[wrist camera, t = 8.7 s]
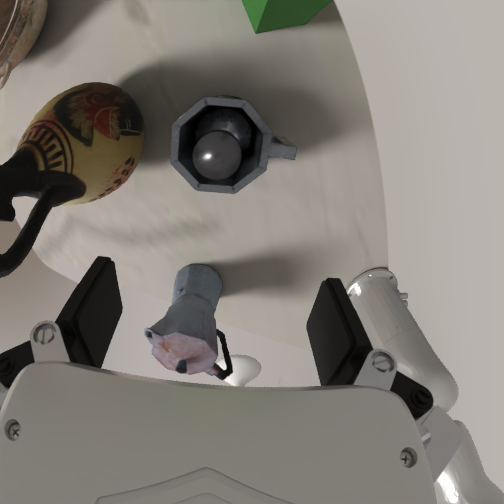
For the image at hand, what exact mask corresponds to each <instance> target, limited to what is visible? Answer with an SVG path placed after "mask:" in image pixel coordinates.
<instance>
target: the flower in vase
mask: <svg viewBox="0 0 504 504" xmlns="http://www.w3.org/2000/svg"><path fill="white" fill-rule="evenodd" d="M230 358H231V362H232V365H233V373H232V374H230V376H229V377H228V376H227V377H226V379H225V380H224V381H226V382H228V383H230V384H231V385H232V386H241V387H244V386H245V385H246V384H247V383H249V382H250V381H252V380H253V379H255V378H256V377H257V376H258V375H259V373H260V371H261V365H260V363H259V362H258V361H257V360H256V359H254V358H252V357H249V356H245V355H232V356H230ZM217 364H218V365H219V366H220V367H221V368H222V369H223V370H226V369H227V368H226V363H225V360H224V358H223V359H221V360H220V361H219V362H218V363H217Z"/></svg>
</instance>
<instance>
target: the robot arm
mask: <svg viewBox="0 0 504 504" xmlns="http://www.w3.org/2000/svg"><path fill="white" fill-rule="evenodd" d="M407 298H408V294H407V293H400V292H399V290H398V289H397V279H396V277H395V276H394V274H393V273H392V272H391V271H389V270H387V269H381V268H378V269H373V270H369V271H367V272H365V273H363V274H361V275H360V276H358V277H357V278H356V279H355V280H354V281H353V282H352V283H351V284H350V285H349V287H348V288H347V290H345V288H344V286H343V284H342V282H341V280H340V279H339V278H327V279H326V281H323V282H322V284H321V286H320V289H319V292H318V295H317V297H316V300H315V303H314V305H313V308H312V311H311V313H310V316H309V318H308V321H307V332H308V336H309V340H310V344H311V348H312V351H313V355H314V359H315V363H316V367H317V371H318V375H319V379H320V383H321V386H310V387H241V386H222V385H207V384H197V383H186V382H178V381H170V380H163V379H156V378H149V377H143V376H137V375H131V374H126V373H121V372H116V371H111V370H106V369H101V367H102V364H103V361H104V358H105V355H106V353H107V350H108V347H109V345H110V342H111V339H112V337H113V334H114V331H115V329H116V326H117V324H118V321H119V319H120V316H121V314H122V308H123V306H122V301H121V296H120V291H119V286H118V281H117V275H116V269H115V263H114V261H111V258H109V257H102V256H98V257H97V258H96V259H95V261H94V262H93V264H92V265H91V267H90V268H89V269H88V271H87V272H86V274H85V275H84V277H83V278H82V280H81V281H80V283H79V284H78V285H77V287H76V288H75V290H74V291H73V293H72V294H71V296H70V298H69V299H68V301H67V302H66V304H65V306H64V307H63V309H62V311H61V313H60V314H59V316H58V318H57V319H56V321H55V322H52V321H43V322H40V323H38V324H37V325H36V326H34V328H33V329H32V331H31V334H30V340H29V341H27V342H25V343H23V344H21V345H18V346H16V347H14V348H12V349H10V350H7V351H5V352H3V353H1V354H0V504H438V503H439V504H504V493H503V492H502V491H501V490H500V489H499V488H498V487H497V486H496V485H495V484H494V483H493V482H492V481H491V480H490V479H489V478H488V477H487V476H486V474H485V472H484V469H483V467H482V464H481V461H480V458H479V455H478V453H477V450H476V447H475V445H474V443H473V440H472V438H471V435H470V433H469V431H468V429H467V428H466V426H465V425H464V424H463V423H462V422H461V421H459V420H452V419H451V418H450V417H449V416H448V415H447V414H446V413H447V412H448V411H449V410H450V409H451V408H452V407H453V405H454V404H455V402H456V400H457V398H458V387H457V384H456V381H455V379H454V378H453V376H452V375H451V373H450V372H449V371H448V370H447V368H446V367H445V366H444V365H443V363H442V362H441V361H440V359H439V358H438V357H437V355H436V354H435V352H434V351H433V349H432V347H431V346H430V344H429V343H428V341H427V339H426V338H425V336H424V335H423V333H422V331H421V329H420V328H419V326H418V324H417V323H416V321H415V319H414V318H413V316H412V315H411V313H410V312H409V310H408V308H407V306H408V302H407V301H406V300H402V299H407ZM437 501H438V503H437Z"/></svg>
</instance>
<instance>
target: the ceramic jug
mask: <svg viewBox="0 0 504 504" xmlns="http://www.w3.org/2000/svg"><path fill="white" fill-rule="evenodd" d="M143 149H144V123H143V118H142V115H141V112H140V110H139V108H138V106H137V105H136V103H135V102H134V100H133V99H132V98H131V97H130V96H129V95H128V94H127V93H126V92H124V91H123V90H122V89H120V88H118V87H116V86H114V85H112V84H107V83H101V82H91V83H84V84H81V85H78V86H75V87H73V88H71V89H69V90H66V91H64V92H62V93H61V94H59V95H57V96H56V97H54V98H53V99H51V100H50V101H49V102H48V103H47V104H46V105H45V106H44V107H43V108H42V109H41V110H40V111H39V112H38V113H37V114H36V115H35V117H34V118H33V120H32V121H31V123H30V125H29V126H28V128H27V130H26V131H25V133H24V134H23V136H22V138H21V140H20V142H19V144H18V147H17V150H16V152H15V153H14V155H13V156H12V157H11V158H10V159H9V160H8V161H7V162H5V163H4V164H3V165H0V221H10V222H12V221H13V220H14V217H15V209H14V208H13V206H12V199H13V197H19V196H28V197H33V198H34V199H38V201H37V203H36V204H35V206H34V207H33V209H32V211H31V213H30V215H29V217H28V220H27V222H26V224H25V225H24V227H23V228H22V230H21V232H20V234H19V236H18V237H17V239H16V240H15V242H14V244H13V245H12V246H11V247H10V248H9V249H8V251H7V252H6V253H4V254H2V255H1V254H0V278H1V277H5V276H7V275H9V274H10V273H11V272H13V271H14V270H15V269H16V268H17V267H18V266H19V265H20V264H21V263H22V262H23V260H24V259H25V257H26V256H27V255H28V253H29V252H30V250H31V249H32V246H33V244H34V242H35V240H36V238H37V236H38V234H39V232H40V229H41V227H42V225H43V223H44V221H45V219H46V217H47V215H48V213H49V212H50V210H51V209H52V207H56V206H59V205H77V204H84V203H88V202H92V201H95V200H97V199H100V198H102V197H105V196H106V195H108V194H110V193H111V192H113V191H115V190H116V189H118V188H119V187H120V186H121V185H122V184H124V183H125V182H126V181H127V180H128V178H129V177H130V175H131V174H132V173H133V171H134V169H135V168H136V166H137V165H138V162H139V160H140V158H141V155H142V153H143Z"/></svg>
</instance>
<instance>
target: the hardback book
mask: <svg viewBox="0 0 504 504" xmlns="http://www.w3.org/2000/svg"><path fill="white" fill-rule="evenodd" d="M331 1H332V0H242V3H243V5H244V7H245V10H246V12H247V14H248V17H249V19H250V22H251V24H252V26H253V29H254V31H255V34H257V33H261V32H266V31H270V30H275V29H280V28H285V27H291V26H297V25H303V24H306V23H307V22H308V21H309V20H310V19H311V18H313V17H314V16H315V15H316V14H317V13H318V12H319V11H320V10H321V9H323V8H324V7H325V6H326V5H327V4H328V3H329V2H331Z"/></svg>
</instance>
